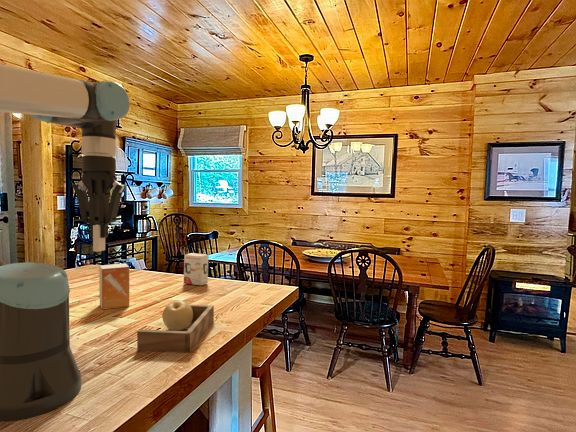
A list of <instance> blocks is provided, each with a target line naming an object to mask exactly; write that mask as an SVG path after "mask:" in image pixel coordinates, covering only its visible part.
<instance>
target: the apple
mask: <svg viewBox="0 0 576 432" xmlns="http://www.w3.org/2000/svg"><path fill="white" fill-rule="evenodd" d="M190 305H191V304H189V303H188V302H186V301H185V300H181V299H180V300H174V301H171V302H170V303H168V304H167V305H166V306H165V307H164V309H163V310H162V314H161V315H162V317H161V318H162V321H163V324H164V326H165V328H167V329H168V330H169V331H184V330H185V329H187V328H188V327H189V326H190V325H191V324H192V322H191V321H192V319H193V310H192V308H191V306H190Z"/></svg>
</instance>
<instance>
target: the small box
mask: <svg viewBox="0 0 576 432" xmlns="http://www.w3.org/2000/svg"><path fill="white" fill-rule="evenodd" d="M98 271H99V273H98V276H99V281H98V282H99V292H98V293H99V306H100V308H101V310H108V309H109V310H110V309H117V308H123V307H124V308H125V307H130V266H129V265H128V263H126V262H125V263H113V264H104V265H99V266H98Z"/></svg>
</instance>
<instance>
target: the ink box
mask: <svg viewBox="0 0 576 432" xmlns="http://www.w3.org/2000/svg"><path fill="white" fill-rule="evenodd" d="M183 257H184V260H183V262H184V263H183V284H189V285H194V286H196V285H197V286H203V285H206V284H208V283H209V281H208V280H209V278H208V277H209V254H206V253H205V254H204V253H198V252H197V253H196V252H190V253H186V254H184V256H183Z"/></svg>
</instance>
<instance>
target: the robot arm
mask: <svg viewBox="0 0 576 432" xmlns="http://www.w3.org/2000/svg"><path fill="white" fill-rule="evenodd" d="M130 103H131V102H130V97H129V94H128V92H127V91H126V89H125V88H124V87H123V85H121V84H119V82H115V81H111V80H109V81H106V80H103V81H98V82H92V81H88V80H84V79H83V80H82V79H76V78H72V77H68V76H67V77H66V76H62V75H57V74H51V73H47V72H42V71H36V70H33V69H28V68H22V67H17V66H11V65H6V64H3V63H2V64H1V63H0V113H12V114H22V115H29V116H30V117H31V118H33V119H34V120H36V121H41V122H45V123H46V124H55V125H58V126H59V125H60V126H65V127H70V128H71V127H72V128H75V129H81V154H83V156H82V157H81V171H82V173H83V174H82V176H81V180H80V181H78V182H77V183H73V184H72V185H71V187H72V189H73V191H74V192H75V195H76V198H77V203H78V207H79V212H80V216H81V221H82V222H83V223H87V224H89V227H90V229H89V231H90V233H89V236H90V238H92V252H95V253H96V252H103V251H106V238H108V236H109V225H110V224H112V223H114V222H116V221H117V219H118V218H117V217H118V212H119V208H120V204H121V200H122V195H123V194H124V192H125V191H126V189H127V186H126V184H121V183H120V182H119V181H118V180H117V176H116V170H117V168H116V167H117V166H116V165H117V160H116V158H115V156H116V155H117V154H116V153H117V152H116V150H117V149H116V147H117V146H116V145H117V141H116V140H117V139H116V138H117V137H116V136H117V135H116V133H117V131H116V129H117V120H120V119H123V118H124V117H126V116H127V115H128V113H129V111H130V107H131V106H130ZM111 190H112V192H111ZM69 284H70V283H69V277H68V273H67V271H66V270H64V269H63V268H62V267H60V266H58V265H54V264H52V263H45V262H39V263H37V262H33V261H32V262H15V263H8V264H6V262H5V261H3V259H2V258H1V257H0V422H13V421H20V420H21V421H22V420H26V419H30V418H33V417H37V416H40V415H43V414H46V413H48V412H49V413H50V412H51V411H53V410H56V409H58V408H60V407H61V406H64V405H65V404H67V403H68V402H70V401H71V400H73V398H75V397H76V396H77V395H78V394H79V392H80V391H81V389H82V373H81V370H80V368H79V367H78V365H77V361H76V358H75V356H74V353H73V352H72V349H71V343H70V342H71V341H70V339H71V338H70V337H71V336H70V330H71V329H70V294H71V293H70V292H71V290H70V285H69Z"/></svg>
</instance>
